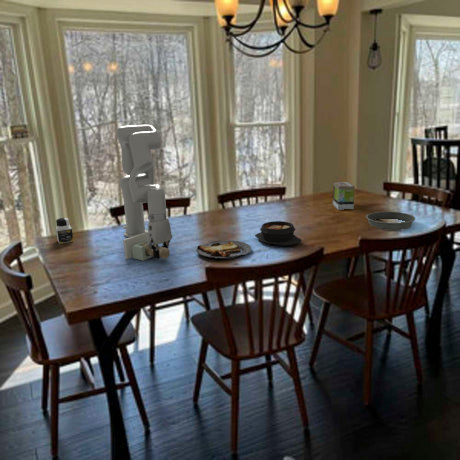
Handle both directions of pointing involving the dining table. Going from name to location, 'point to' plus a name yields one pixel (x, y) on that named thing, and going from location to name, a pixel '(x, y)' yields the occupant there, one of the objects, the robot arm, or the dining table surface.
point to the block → (140, 251)
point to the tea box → (343, 195)
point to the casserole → (278, 233)
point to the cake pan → (390, 215)
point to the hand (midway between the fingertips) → (161, 256)
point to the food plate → (223, 249)
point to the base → (131, 241)
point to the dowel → (162, 250)
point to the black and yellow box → (64, 231)
